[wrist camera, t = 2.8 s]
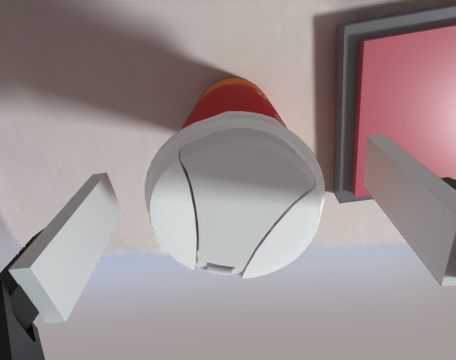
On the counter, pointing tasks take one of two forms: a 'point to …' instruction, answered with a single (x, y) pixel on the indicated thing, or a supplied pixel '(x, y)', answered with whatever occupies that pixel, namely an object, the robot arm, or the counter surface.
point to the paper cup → (234, 186)
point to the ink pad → (395, 93)
